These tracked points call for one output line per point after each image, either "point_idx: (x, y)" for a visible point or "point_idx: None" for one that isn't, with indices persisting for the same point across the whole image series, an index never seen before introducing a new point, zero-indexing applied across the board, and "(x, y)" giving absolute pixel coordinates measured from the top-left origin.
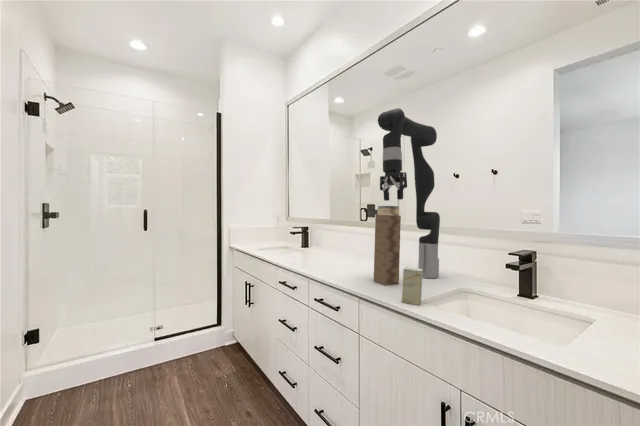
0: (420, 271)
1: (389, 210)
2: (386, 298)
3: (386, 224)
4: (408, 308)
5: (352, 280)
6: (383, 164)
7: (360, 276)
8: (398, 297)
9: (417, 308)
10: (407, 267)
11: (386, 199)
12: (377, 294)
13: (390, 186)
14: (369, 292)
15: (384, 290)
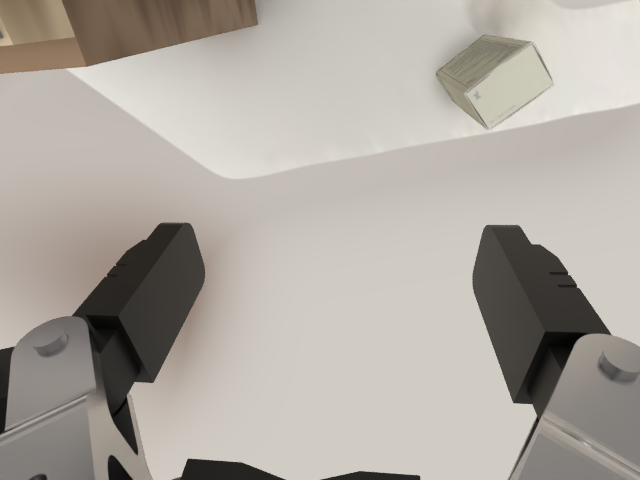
0: (552, 85)
1: (23, 23)
2: (401, 123)
3: (138, 52)
4: None
5: (166, 111)
6: None
7: None
8: (408, 77)
9: None
10: (473, 92)
11: (197, 266)
12: (355, 126)
13: (98, 421)
14: (327, 138)
15: (320, 71)
